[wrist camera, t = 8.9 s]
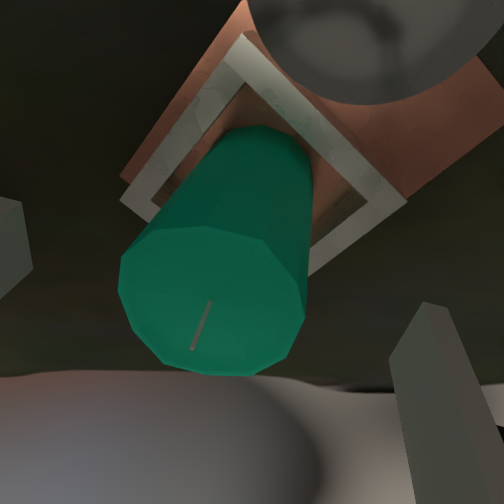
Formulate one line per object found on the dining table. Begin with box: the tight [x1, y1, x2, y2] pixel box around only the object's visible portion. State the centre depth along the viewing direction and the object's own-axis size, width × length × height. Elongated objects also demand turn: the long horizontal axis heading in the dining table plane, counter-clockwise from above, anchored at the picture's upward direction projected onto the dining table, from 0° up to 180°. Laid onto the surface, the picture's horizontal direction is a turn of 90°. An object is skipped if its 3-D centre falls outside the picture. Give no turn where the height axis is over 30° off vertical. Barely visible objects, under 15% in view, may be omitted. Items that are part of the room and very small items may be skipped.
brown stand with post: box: [119, 0, 504, 277], centre depth 15 cm, size 12×16×14 cm
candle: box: [118, 124, 314, 376], centre depth 15 cm, size 6×6×12 cm
